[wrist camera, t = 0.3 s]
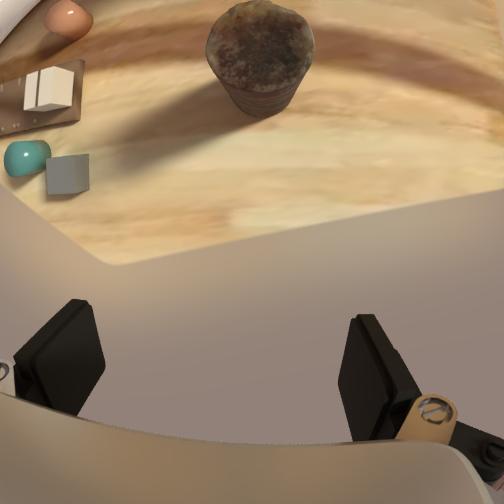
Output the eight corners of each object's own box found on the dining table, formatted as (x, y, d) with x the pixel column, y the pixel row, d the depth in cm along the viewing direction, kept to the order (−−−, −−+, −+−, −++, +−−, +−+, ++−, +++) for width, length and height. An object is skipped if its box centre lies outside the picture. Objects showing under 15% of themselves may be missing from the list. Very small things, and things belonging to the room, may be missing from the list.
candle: (260, 132, 37) (259, 114, 18) (218, 92, 35) (177, 42, 16) (304, 91, 35) (344, 40, 16) (262, 52, 34) (262, -26, 15)
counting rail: (-8, 90, 34) (-14, 89, 32) (84, 61, 34) (78, 58, 32) (-11, 139, 37) (-17, 140, 35) (80, 120, 36) (74, 119, 35)
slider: (47, 79, 33) (26, 74, 28) (74, 72, 33) (53, 65, 28) (45, 111, 34) (23, 110, 29) (71, 106, 34) (50, 103, 29)
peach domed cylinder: (68, 16, 31) (47, 5, 25) (95, 8, 31) (76, -6, 25) (63, 43, 32) (41, 34, 27) (90, 36, 32) (69, 25, 27)
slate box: (61, 156, 38) (46, 158, 34) (89, 153, 38) (74, 155, 34) (62, 190, 40) (47, 194, 36) (89, 189, 40) (75, 193, 36)
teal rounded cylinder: (28, 142, 37) (3, 144, 32) (51, 138, 37) (26, 139, 32) (29, 173, 39) (4, 178, 33) (51, 171, 39) (27, 176, 33)
